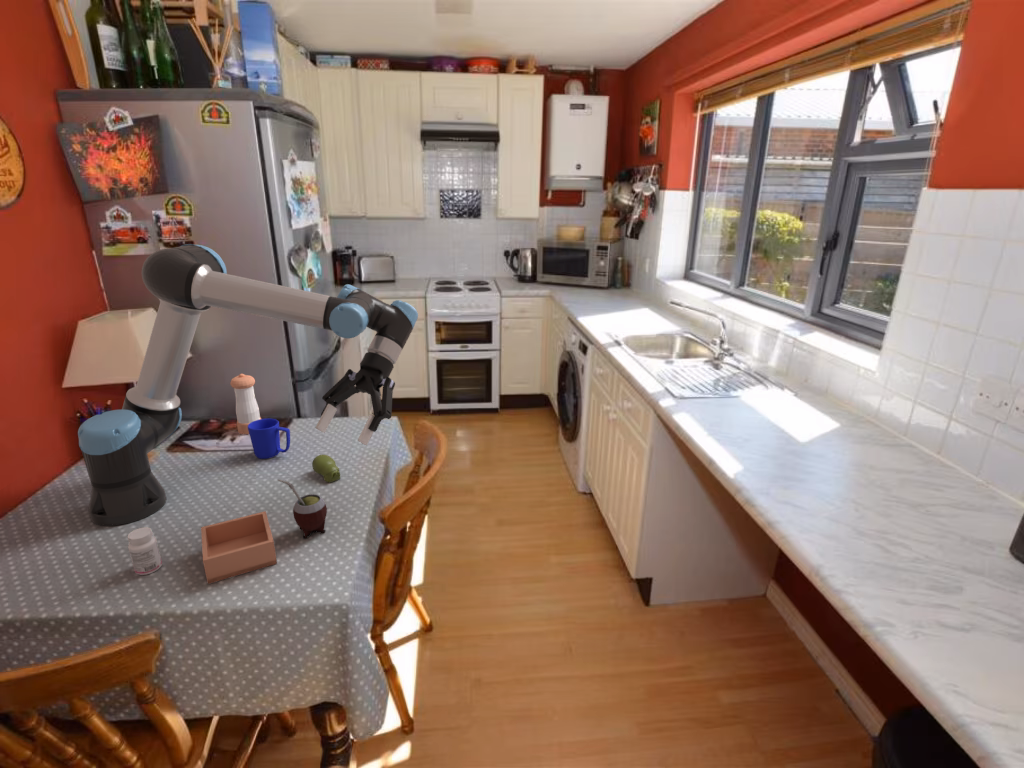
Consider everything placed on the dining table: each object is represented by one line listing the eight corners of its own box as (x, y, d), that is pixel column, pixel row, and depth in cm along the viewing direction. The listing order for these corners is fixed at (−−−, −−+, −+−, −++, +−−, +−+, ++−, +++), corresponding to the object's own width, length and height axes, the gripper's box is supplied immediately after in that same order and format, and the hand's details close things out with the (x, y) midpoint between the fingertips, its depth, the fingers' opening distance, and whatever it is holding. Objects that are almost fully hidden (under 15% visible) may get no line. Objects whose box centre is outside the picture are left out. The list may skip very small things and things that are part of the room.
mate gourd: (334, 524, 123) (328, 466, 118) (315, 544, 116) (307, 484, 111) (306, 519, 125) (298, 462, 120) (285, 539, 117) (276, 479, 112)
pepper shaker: (233, 433, 169) (223, 376, 162) (247, 424, 176) (238, 369, 169) (253, 435, 168) (244, 378, 161) (267, 426, 174) (259, 371, 168)
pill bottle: (143, 560, 110) (134, 526, 107) (167, 559, 110) (158, 525, 107) (129, 576, 105) (119, 540, 102) (154, 575, 106) (145, 539, 103)
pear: (327, 448, 147) (345, 466, 142) (327, 464, 150) (345, 482, 144) (308, 455, 144) (326, 473, 138) (308, 471, 146) (326, 489, 140)
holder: (207, 584, 103) (202, 560, 102) (205, 549, 114) (201, 527, 112) (277, 563, 110) (273, 541, 108) (269, 532, 120) (265, 511, 118)
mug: (284, 464, 150) (279, 432, 147) (246, 459, 152) (241, 428, 149) (300, 451, 158) (296, 420, 154) (264, 447, 160) (259, 417, 157)
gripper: (428, 373, 127) (390, 454, 120) (352, 358, 139) (313, 431, 131) (412, 358, 121) (371, 442, 114) (334, 343, 133) (293, 419, 125)
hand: (340, 436), depth 123 cm, fingers open, 13 cm apart
